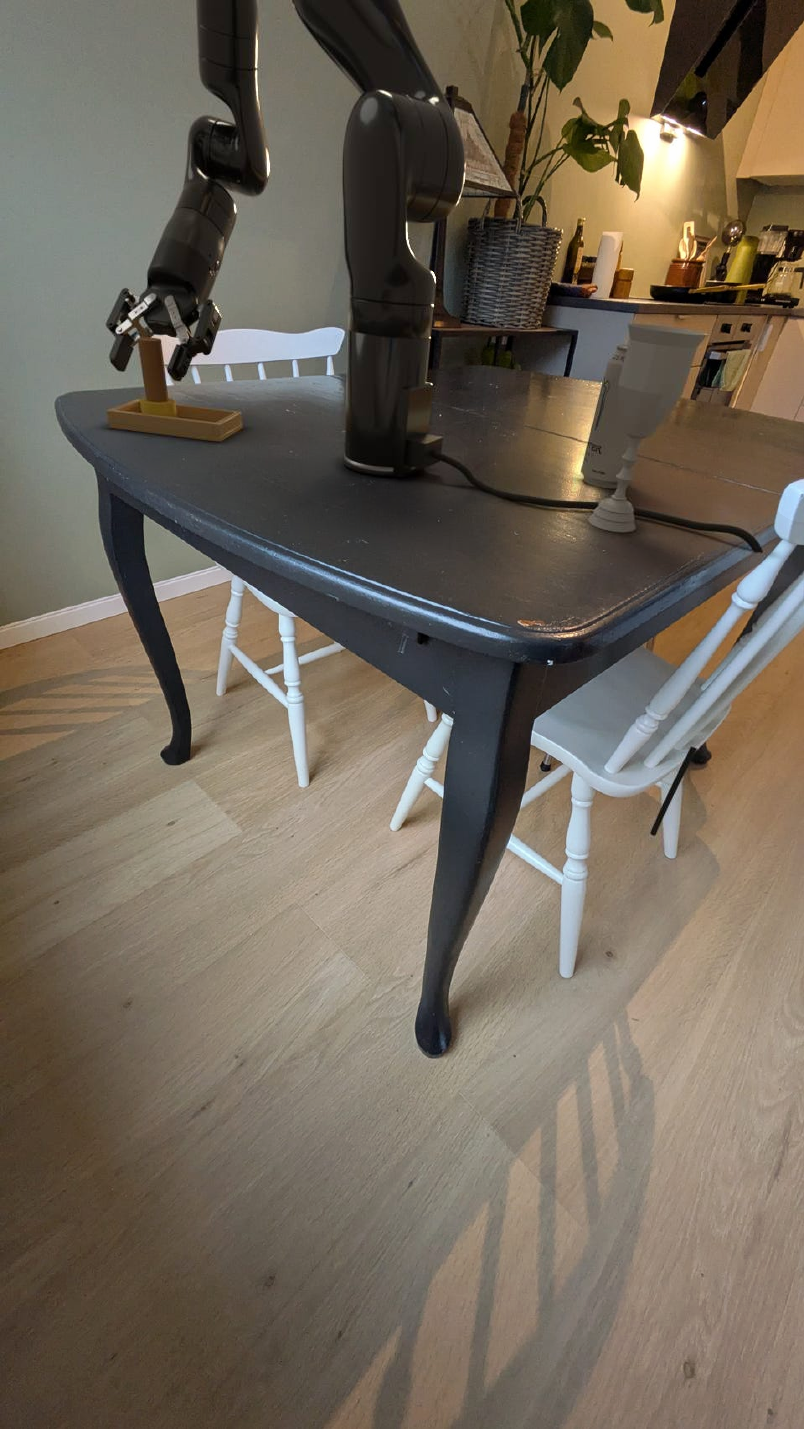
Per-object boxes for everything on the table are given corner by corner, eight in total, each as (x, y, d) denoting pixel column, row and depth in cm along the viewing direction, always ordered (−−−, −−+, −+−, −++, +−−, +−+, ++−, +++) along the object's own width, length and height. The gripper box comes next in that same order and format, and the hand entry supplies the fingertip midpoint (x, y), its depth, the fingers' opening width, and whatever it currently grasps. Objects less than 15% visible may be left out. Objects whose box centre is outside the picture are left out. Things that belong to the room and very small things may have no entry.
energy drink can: (576, 473, 83) (607, 342, 74) (621, 478, 83) (659, 347, 74) (582, 486, 78) (616, 348, 69) (630, 492, 78) (671, 354, 69)
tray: (242, 428, 87) (241, 411, 86) (220, 442, 81) (218, 424, 80) (139, 415, 89) (137, 399, 87) (109, 427, 82) (106, 410, 81)
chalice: (565, 513, 69) (611, 322, 59) (615, 510, 72) (668, 325, 61) (607, 538, 64) (665, 333, 53) (658, 533, 66) (725, 336, 56)
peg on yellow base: (144, 424, 82) (132, 341, 77) (141, 416, 86) (128, 335, 80) (179, 424, 84) (170, 342, 78) (174, 416, 87) (165, 337, 82)
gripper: (124, 231, 80) (78, 342, 78) (222, 241, 77) (177, 358, 75) (157, 281, 87) (115, 384, 85) (247, 292, 84) (207, 400, 82)
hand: (144, 372), depth 80 cm, fingers open, 8 cm apart
